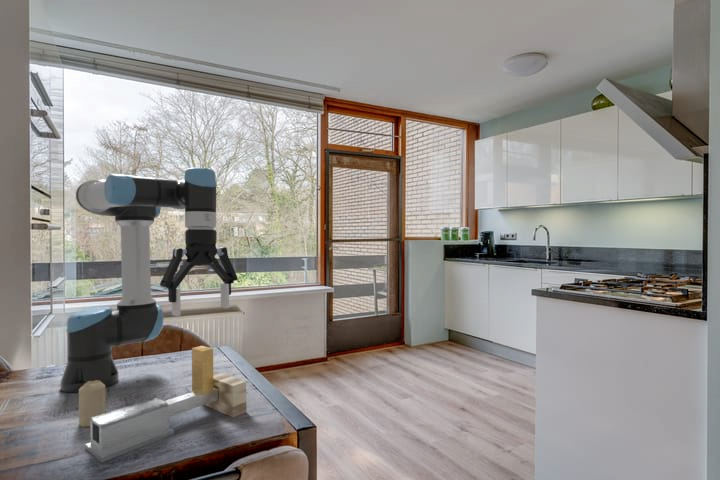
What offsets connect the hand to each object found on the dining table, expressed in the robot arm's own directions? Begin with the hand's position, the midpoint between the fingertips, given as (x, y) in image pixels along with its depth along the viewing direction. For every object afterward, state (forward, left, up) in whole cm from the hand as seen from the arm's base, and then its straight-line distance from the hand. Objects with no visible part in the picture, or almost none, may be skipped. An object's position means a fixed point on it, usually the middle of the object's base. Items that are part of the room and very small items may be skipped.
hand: (201, 311), depth 105 cm
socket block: (0, +5, -26) cm, 27 cm away
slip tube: (0, -5, -24) cm, 24 cm away
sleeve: (0, -18, -26) cm, 32 cm away
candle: (-18, -19, -27) cm, 37 cm away
